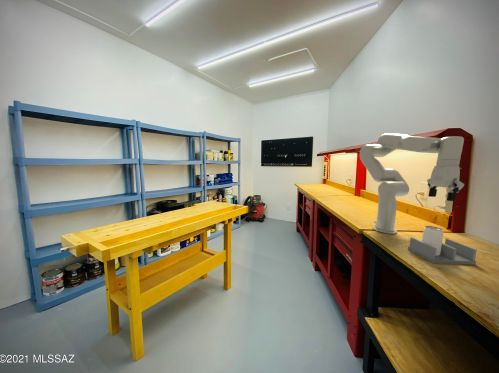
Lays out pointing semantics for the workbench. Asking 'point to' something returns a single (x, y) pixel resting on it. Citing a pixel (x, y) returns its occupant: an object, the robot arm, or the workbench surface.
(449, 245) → the rack
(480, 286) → the workbench surface
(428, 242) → the can
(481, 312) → the workbench surface
